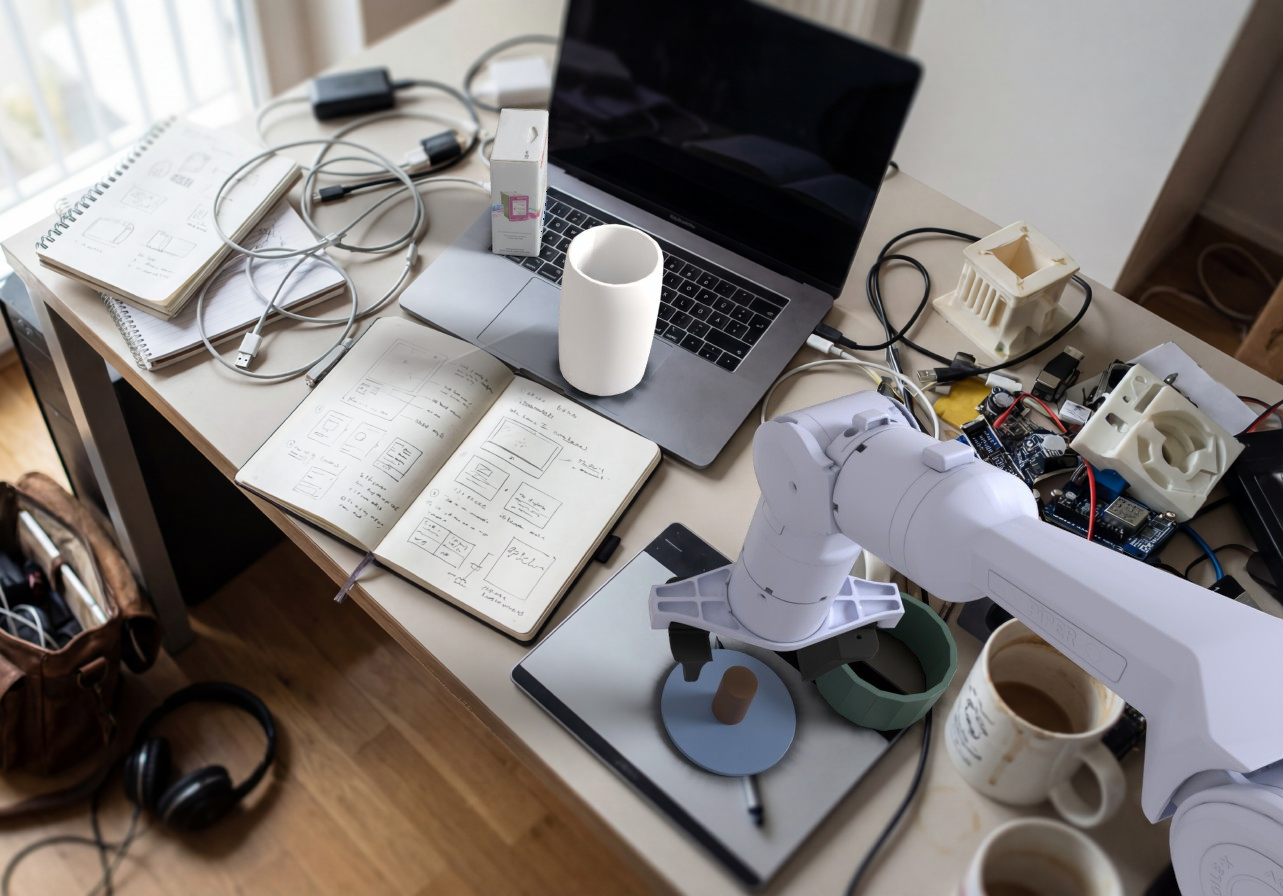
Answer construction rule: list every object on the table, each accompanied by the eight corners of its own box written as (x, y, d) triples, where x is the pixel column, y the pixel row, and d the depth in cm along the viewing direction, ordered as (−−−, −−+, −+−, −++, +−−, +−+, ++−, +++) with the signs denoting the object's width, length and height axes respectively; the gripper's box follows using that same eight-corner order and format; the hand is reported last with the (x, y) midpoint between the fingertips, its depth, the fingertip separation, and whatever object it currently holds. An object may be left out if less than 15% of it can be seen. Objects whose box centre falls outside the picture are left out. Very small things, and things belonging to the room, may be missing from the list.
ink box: (500, 201, 109) (500, 104, 99) (547, 205, 108) (551, 107, 99) (489, 254, 103) (489, 157, 94) (538, 258, 103) (542, 161, 94)
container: (956, 696, 73) (984, 663, 69) (867, 754, 71) (891, 724, 67) (872, 605, 78) (894, 569, 74) (785, 657, 75) (803, 623, 71)
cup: (581, 419, 90) (593, 303, 79) (539, 356, 95) (544, 238, 83) (664, 389, 92) (687, 271, 81) (619, 328, 97) (635, 209, 85)
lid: (820, 737, 72) (841, 705, 67) (714, 805, 69) (729, 775, 64) (735, 634, 77) (750, 597, 72) (634, 693, 74) (642, 658, 69)
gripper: (907, 498, 58) (843, 612, 69) (655, 500, 58) (630, 613, 69) (941, 607, 54) (867, 710, 65) (669, 609, 54) (640, 712, 65)
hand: (746, 667), depth 67 cm, fingers open, 7 cm apart
